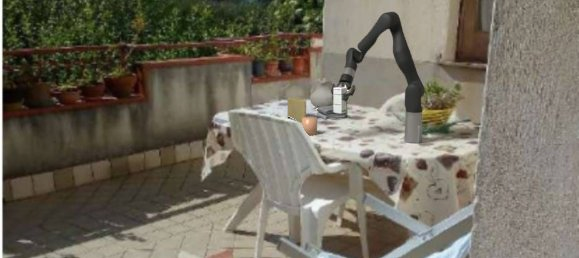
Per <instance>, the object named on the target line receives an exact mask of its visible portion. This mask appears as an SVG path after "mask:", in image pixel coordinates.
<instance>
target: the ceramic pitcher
mask: <svg viewBox="0 0 579 258" xmlns="http://www.w3.org/2000/svg"><path fill="white" fill-rule="evenodd" d="M313 82H314V85H315V90H314V91H313V92H311V94H310V98H309V99H310V103H311V105H312V106H314V107H315V109H316V108H319V107H321V106H333V105H334V100H333V99H332V95H333V94H332V93H331V88H332V85H333V84H334V81H333V80H331V79H327V77H326V75H322V79H321V78H317V79H315V80H314V81H313Z"/></svg>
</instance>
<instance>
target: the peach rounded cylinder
mask: <svg viewBox="0 0 579 258" xmlns="http://www.w3.org/2000/svg"><path fill="white" fill-rule="evenodd" d="M302 126H303V128H304V130H305V131H306V133H307V134H308V135H309V136H308V137H314V135H315V136H317V135H318V116H317V117H316V116H306V117H302V123H301V127H302Z"/></svg>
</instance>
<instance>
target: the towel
mask: <svg viewBox="0 0 579 258" xmlns="http://www.w3.org/2000/svg"><path fill="white" fill-rule="evenodd" d="M316 116H317V117H319V118H321V119H323V118H324V120H325V119H332V120H339V119H338V118H342V119H348V117H349V115H348V111H347V112H346V113H342V114H340V113H334V105H333V106H321V107H319V108H318V109H317V111H316Z"/></svg>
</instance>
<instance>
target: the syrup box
mask: <svg viewBox="0 0 579 258" xmlns="http://www.w3.org/2000/svg"><path fill="white" fill-rule="evenodd" d="M333 89H334V96H333V97H334V113H340V114H342V113H346V112H347V113H348V100H347V101H345V100H344V98H345V96H346V94H347V93H346V92H347V87H336V88H333Z"/></svg>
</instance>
